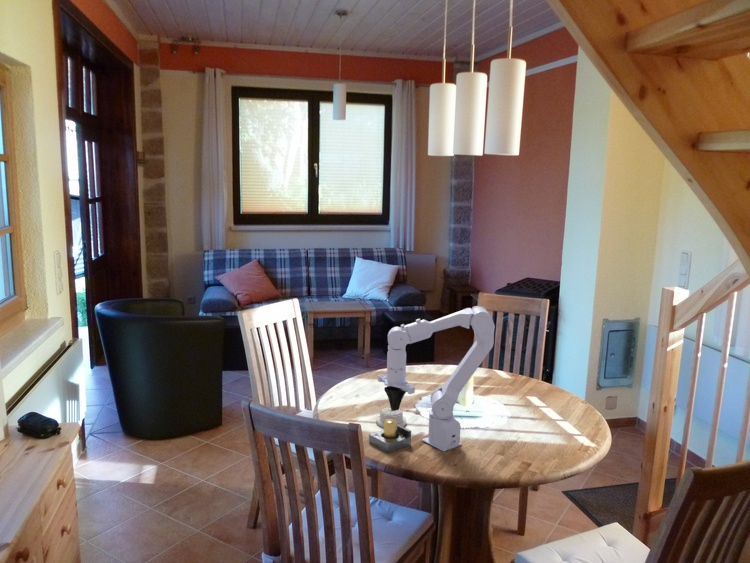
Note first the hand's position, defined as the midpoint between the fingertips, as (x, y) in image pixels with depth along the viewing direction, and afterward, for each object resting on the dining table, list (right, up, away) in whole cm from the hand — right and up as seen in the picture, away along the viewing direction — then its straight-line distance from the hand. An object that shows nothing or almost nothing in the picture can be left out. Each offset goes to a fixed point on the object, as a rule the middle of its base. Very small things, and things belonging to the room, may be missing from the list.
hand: (395, 409), depth 182 cm
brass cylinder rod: (-2, -10, -1) cm, 10 cm away
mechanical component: (-1, -8, +15) cm, 17 cm away
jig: (-2, -10, -1) cm, 10 cm away
